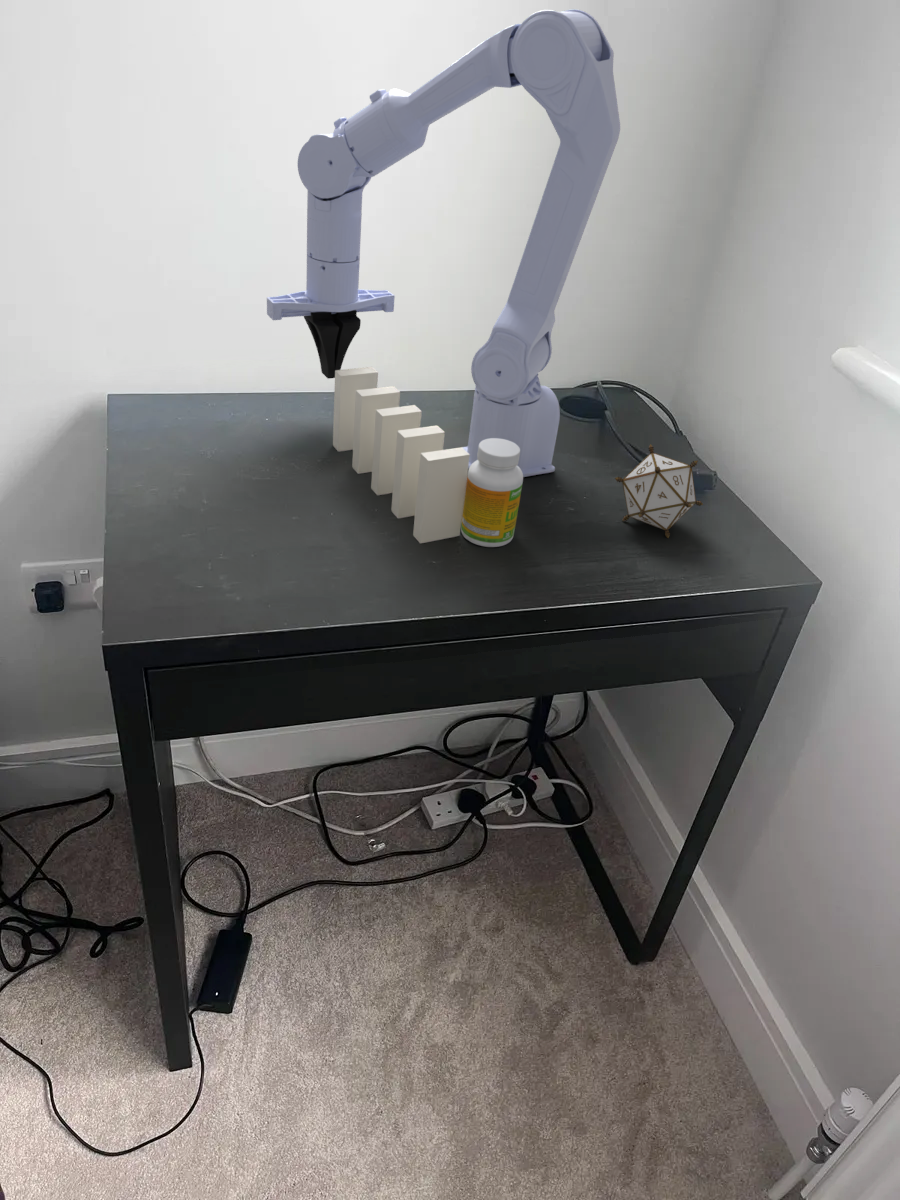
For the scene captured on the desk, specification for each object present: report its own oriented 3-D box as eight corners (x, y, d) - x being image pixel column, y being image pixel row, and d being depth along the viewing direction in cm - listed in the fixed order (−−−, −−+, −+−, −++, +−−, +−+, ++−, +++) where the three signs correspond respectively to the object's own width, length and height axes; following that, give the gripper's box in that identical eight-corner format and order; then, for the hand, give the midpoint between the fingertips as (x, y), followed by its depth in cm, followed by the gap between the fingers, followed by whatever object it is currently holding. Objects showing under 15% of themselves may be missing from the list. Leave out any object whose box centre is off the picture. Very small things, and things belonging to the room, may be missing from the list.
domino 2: (388, 461, 103) (393, 386, 98) (394, 468, 102) (400, 392, 97) (352, 467, 101) (355, 390, 96) (358, 473, 100) (362, 396, 95)
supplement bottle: (509, 553, 90) (523, 464, 84) (455, 542, 90) (466, 453, 85) (516, 526, 94) (531, 440, 89) (465, 516, 95) (477, 430, 89)
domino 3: (408, 482, 99) (414, 405, 94) (414, 489, 98) (421, 411, 93) (371, 488, 98) (375, 409, 92) (377, 495, 96) (382, 416, 91)
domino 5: (451, 527, 93) (461, 447, 87) (459, 535, 92) (469, 454, 86) (412, 535, 91) (420, 453, 85) (420, 543, 90) (428, 460, 84)
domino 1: (367, 440, 107) (372, 366, 102) (373, 446, 106) (378, 372, 100) (332, 445, 105) (335, 370, 100) (338, 451, 104) (340, 376, 98)
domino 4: (429, 504, 96) (437, 425, 91) (436, 511, 95) (444, 432, 90) (391, 510, 94) (397, 430, 89) (398, 518, 93) (404, 437, 88)
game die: (643, 563, 98) (637, 520, 89) (606, 502, 102) (596, 456, 93) (718, 524, 98) (720, 478, 89) (678, 465, 101) (676, 415, 92)
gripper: (378, 243, 105) (372, 356, 113) (256, 247, 99) (258, 367, 107) (405, 261, 100) (397, 378, 108) (279, 266, 94) (279, 391, 102)
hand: (330, 375), depth 107 cm, fingers closed
